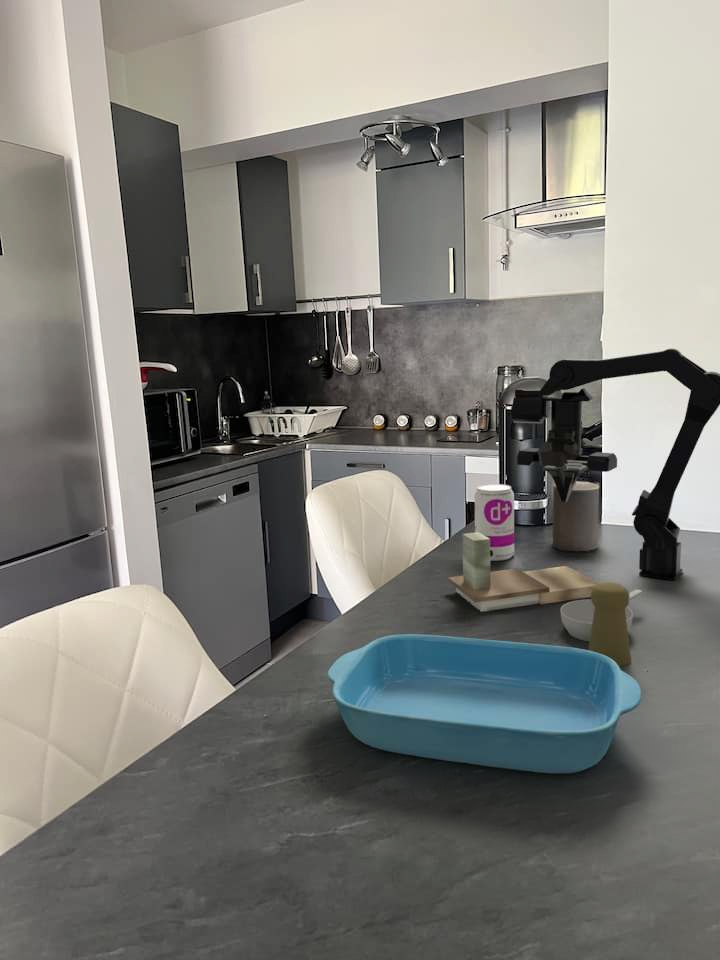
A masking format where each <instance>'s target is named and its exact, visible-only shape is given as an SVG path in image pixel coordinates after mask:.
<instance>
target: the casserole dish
mask: <svg viewBox="0 0 720 960" xmlns="http://www.w3.org/2000/svg"><path fill="white" fill-rule="evenodd" d="M327 678H328V679H329V681H330V682H331V683H333V686H332V692H331V693H332V696H333V699H334V701H335V704H336V706H337V709H338V711H339V713H340V715H341V718H342V720H343V721H344V722H343V723H345V725H346V727H347V729H348V730H349V732H350V733H351V734H352V735H353V736H354V738H356V740H359V742H361V743H363V744H366V745H367V746H369V747H371V748H375V749H377V750H378V749H379V750H381V751H386V752H391V753H396V754H401V755H402V754H403V755H409V756H414V757H421V758H426V759H433V760H441V761H447V762H455V763H462V764H463V763H466V764H470V765H478V766H483V767H491V768H498V769H507V770H516V771H525V772H534V773H543V774H574V773H577V772H583V771H584V770H586V769H589V768H591V767H594V765H597V764H598V763H599V762H600V761H601V760H602V759H603V757H604V756H605V755H606V753H607V752H608V750H609V747H610V745H611V743H612V740H613V737H614V735H615V731H616V728H617V726H618V722H619V719H620V717H621V716H622V715H624V714H627V713H630V712H632V711H634V710H635V709H637V707H638V706H639V705H640V703H641V701H642V690H641V686H640V684H639V683H638V681H637V680H636V679H635V678H633V676H631V675H630V674H629V673H626V672H625V671H623V670H621V668H620V667H619V666H618V665H617V664H616V662H615V661H613V660H612V659H611V658H609V657H607V656H605V655H602V654H599V653H596V652H593V651H588V649H582V648H577V647H569V646H568V647H567V646H560V645H550V644H549V645H548V644H539V643H529V642H515V641H505V640H494V639H480V638H469V637H458V636H448V635H434V634H415V633H412V634H411V633H410V634H409V633H408V634H407V633H406V634H403V633H402V634H394V635H393V634H392V635H386V636H383V637H379V638H377V639H374V640H372V641H371V642H369V643H368V644H366V645H365V646H362V647H361V648H357V649H354V650H353V651H352V650H351V651H349V652H347V653H345V654H343V655H341V656H340V657H339V658H337V659H336V661H335V662H334V663H333V664H332V665H331V667H330V668H329V669H328V671H327Z"/></svg>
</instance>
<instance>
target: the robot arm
mask: <svg viewBox="0 0 720 960" xmlns="http://www.w3.org/2000/svg"><path fill="white" fill-rule="evenodd" d="M658 372H659V373H660V372H667V373H668V374H669V375H670V376H672V377H673V378H674V379H675V380H677V381H678V382H679V383H680V384H682V385H683V386H684V387H686V388H687V389H689V390H690V392H689V398H688V402H687V407H686V410H685V416H684V420H683V422H682V425H681V427H680V429H679V432H678V434H677V435H676V439H675V440H674V442H673V445H672V448H671V450H670V452H669V454H668V456H667V458H666V460H665V463H664V466H663V468H662V470H661V471H660V474H659V477H658V479H657V482H656V484H655V485H654V487H653V488H652V489H651V491H650V492H649V491H648V490H646V489H643V490H642V492H641V494H640V496H639V499H638V503H637V505H636V506H635V508H634V509H633V512H632V513H631V516H632V517H633V516H634V518H633V521H632V523H633V528H634V529H635V531H636V533H638V534H639V536H641V537H642V538H643V540H644V541H643V542H642V547H641V548H640V549H639V559H638V560H639V564H638V565H639V566H638V567H639V569H638V570H640V571H639V572H638V575H639V576H642V577H647V578H656V579H663V580H668V581H676V580H677V578H678V577H679V576H681V574H682V573H683V568H681V559H682V558H681V557H682V556H681V555H682V542H680V541H679V542H678V540H679V536H680V531H681V528H680V526H679V525H677V524H676V523H675V522H674V521H673V520H672V518H670V514H671V512H672V511H671V510H672V506H673V502H674V497H675V493H676V490H677V488H678V486H679V484H680V482H681V479H682V477H683V475H684V473H685V471H686V468H687V466H688V464H689V461H690V459H691V457H692V455H693V453H694V451H695V448H696V446H697V443H698V442H699V439H700V437H701V435H702V432H703V431H704V428H705V426H706V425H707V424H708V422H709V421H710V419H711V418H712V417H713V416H714V414H715V412H716V411H717V410H718V409H719V407H720V373H719V372H716V371H706V370H705V369H704V368H703V367H701V366H700V365H698V364H696V363H695V362H693V361H692V360H691V359H689V358H687V357H686V355H683V354H682V352H681V351H680V350H678V349H675V348H666V349H665V350H661V351H660V350H659V351H655V352H654V351H653V352H647V353H639V354H632V355H626V356H618V357H612V358H605V359H604V358H603V359H592V358H591V359H590V358H565V359H561V360H557V362H555V363H554V364H553V365H552V366H551V368H550V370H549V374H548V375H549V377H548V379H547V380H546V381H545V382H544V384H543V385H542V386H541V389H526V388H517V389H515V390H514V396H513V400H512V405H511V407H510V408H511V409H510V413H511V415H510V417H511V419H512V422H513V423H514V424H516V423H517V424H543V423H544V421H545V419H549V418H550V429H549V430H548V433H547V438H546V441H544V442H543V443H542V445H541V446H540V447H539V448H538V447H537V448H535V447H526V448H523V449H520V450H518V451H517V453H516V455H515V465H517V466H528V467H529V466H531V465H533V463H536V462H539V464H540V466H541V467H543V468H542V470H543V471H544V472H547V473H548V474H549V475H550V476H551V477H552V480H553V482H554V484H556V487H557V490H558V493H559V496H560V499H561V502H567V501H568V499H569V496H570V494H571V492H572V489H573V487H574V485H575V483H576V481H578V479H579V477H580V475H581V473H583V472H585V471H587V470H590V471H592V472H602V473H605V472H607V473H608V472H610V471H612V470H614V469H617V468H618V457H617V456H616V454H615V453H613V452H602V451H601V452H600V451H599V452H598V451H596V452H594V453H592V454H589V455H583V451H584V449H583V448H582V434H584V427H582V412H583V411H582V409H583V407H582V405H583V402H590V401H592V400H593V398H594V397H593V395H591V394H590V393H589V392H588V391H587V390H586V388H585V387H582V388H580V390H579V391H576V392H575V391H574V392H573V391H571V392H570V391H568V390H572V389H575V388H578V387H580V386H584V385H589V384H591V383H594V382H596V381H601V380H605V379H607V380H608V379H613V378H621V377H628V376H636V375H644V374H651V373H658ZM560 391H563V392H562V395H561V396H552V395H554V394H557V393H558V392H560Z"/></svg>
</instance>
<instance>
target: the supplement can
mask: <svg viewBox="0 0 720 960" xmlns="http://www.w3.org/2000/svg"><path fill="white" fill-rule="evenodd" d="M475 532H479V533H481V534H482V535H484V536H486V537H488V538H489V539H490V562H492V561H494V562H497V561H500V562H501V561H507V560H509V559H511V558H512V556H514V555H515V493H514V490H512V486H511V485H508V484H503V483H502V484H501V483H500V484H499V483H498V484H497V483H491V484H489V483H488V484H482V485H478V486H477V489H476V491H475V492H474V533H475Z"/></svg>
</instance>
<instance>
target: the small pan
mask: <svg viewBox="0 0 720 960" xmlns="http://www.w3.org/2000/svg"><path fill="white" fill-rule="evenodd" d="M642 594H643V590H641V589H634V590H632V591H631V592H629V601H631V600H634V599H635V598H637V597H638V596H640V595H642ZM594 610H595V606H594V605H593V603H592V601H591V599H580V600H579V599H576V600H572V601H569V602H567V603H564V604H563V605H562V606H561V607H560V619H561V622H562V624H563V626H564V628H565V630H566V631H567V632H568V634H569V635H570V636H572V637H573V638H574V639H578V640H581V641H584V642H589V641H590V635H591V629H592V622H593V616H594ZM625 613H626V622H627V630H628V632H629V631H630V628H631V627H632V625H633V616H634V614H633V613H634V612H633V611H632V610H631V609H630V608H629V607H628V606H627V607H626V608H625Z"/></svg>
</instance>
